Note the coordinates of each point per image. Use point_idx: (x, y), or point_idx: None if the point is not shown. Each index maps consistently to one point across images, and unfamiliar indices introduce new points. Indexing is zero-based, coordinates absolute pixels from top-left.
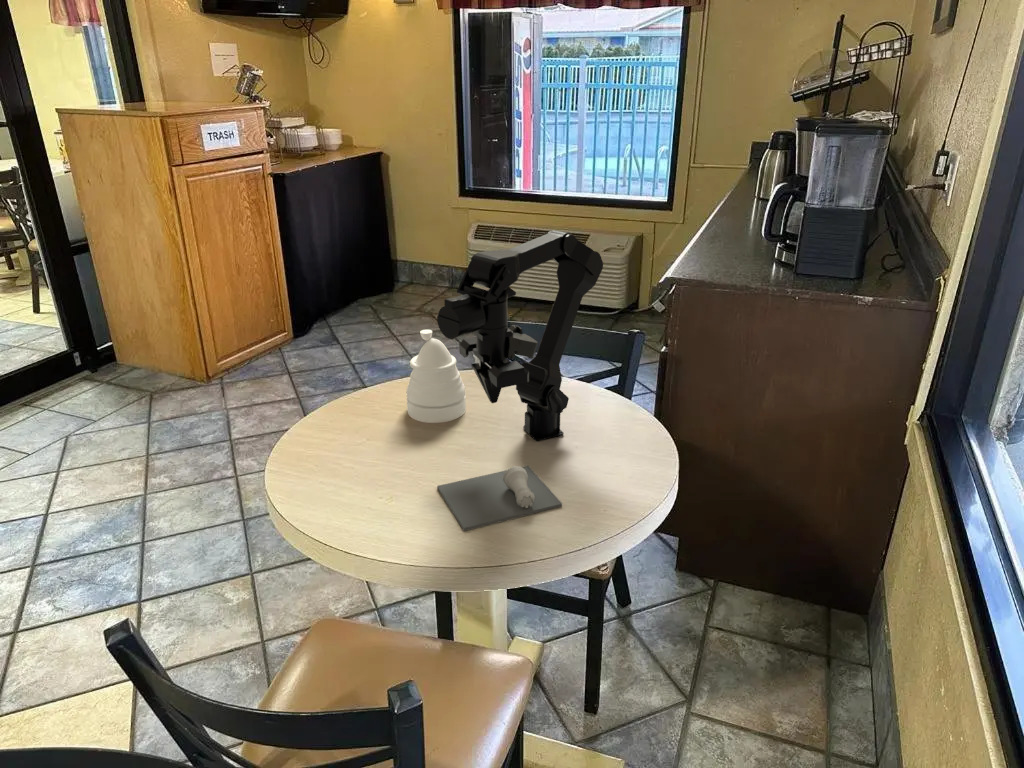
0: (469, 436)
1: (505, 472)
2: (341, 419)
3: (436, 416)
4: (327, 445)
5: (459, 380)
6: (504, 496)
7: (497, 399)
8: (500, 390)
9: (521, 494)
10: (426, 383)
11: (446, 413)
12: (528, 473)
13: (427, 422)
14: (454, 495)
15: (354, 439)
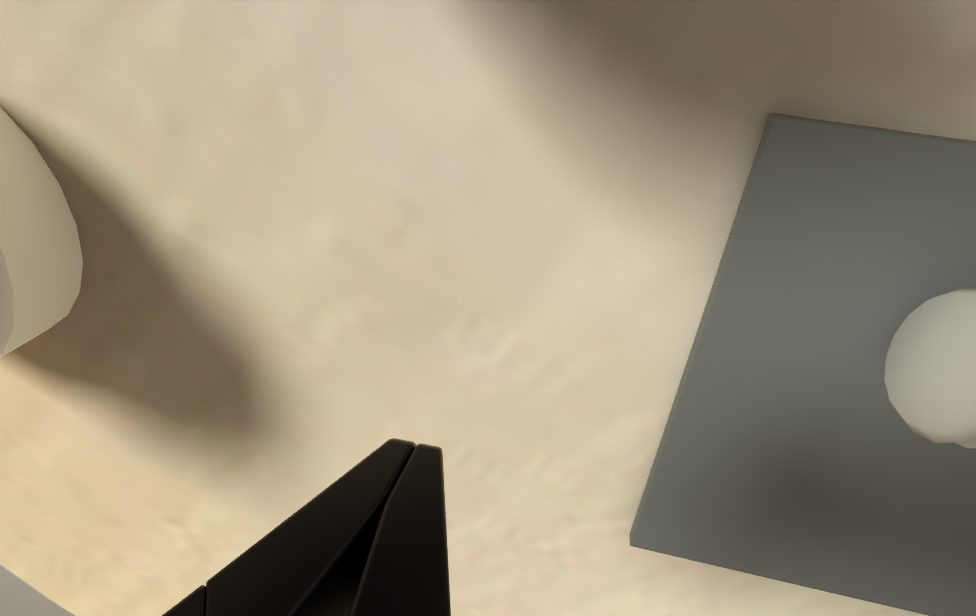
0: (258, 209)
1: (940, 442)
2: (15, 514)
3: (52, 287)
4: None
5: None
6: None
7: (443, 474)
8: (449, 598)
9: None
10: None
11: (34, 244)
12: (859, 172)
13: (73, 303)
14: (744, 541)
15: (164, 547)
